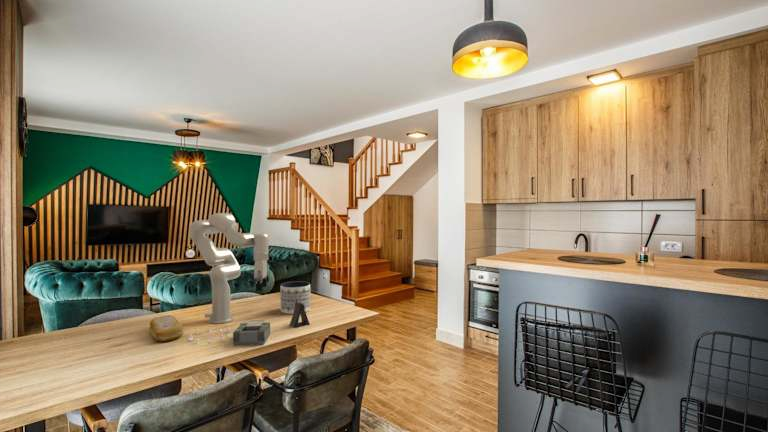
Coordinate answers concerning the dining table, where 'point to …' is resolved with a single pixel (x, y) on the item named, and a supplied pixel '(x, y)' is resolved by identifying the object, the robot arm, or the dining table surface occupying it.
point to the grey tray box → (254, 325)
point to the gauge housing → (251, 335)
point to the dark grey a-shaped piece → (297, 312)
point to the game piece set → (208, 331)
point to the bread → (165, 328)
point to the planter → (294, 296)
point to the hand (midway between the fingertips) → (261, 288)
